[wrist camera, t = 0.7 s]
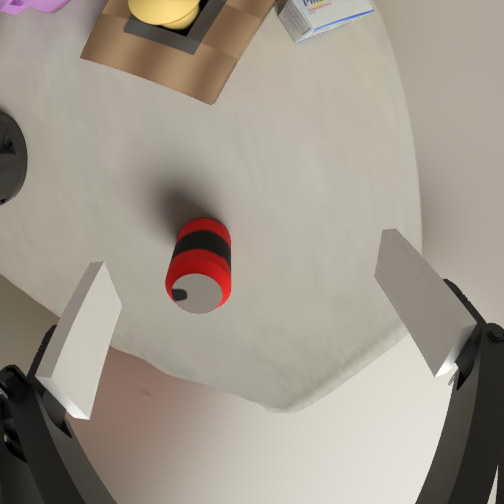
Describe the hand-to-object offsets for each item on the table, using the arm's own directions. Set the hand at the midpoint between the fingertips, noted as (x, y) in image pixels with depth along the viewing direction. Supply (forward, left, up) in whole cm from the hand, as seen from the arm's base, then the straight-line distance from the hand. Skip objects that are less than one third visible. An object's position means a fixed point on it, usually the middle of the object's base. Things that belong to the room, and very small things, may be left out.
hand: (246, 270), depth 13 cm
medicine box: (0, +20, -27) cm, 33 cm away
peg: (-13, +12, -21) cm, 28 cm away
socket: (-13, +12, -26) cm, 32 cm away
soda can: (+2, -14, -27) cm, 30 cm away
